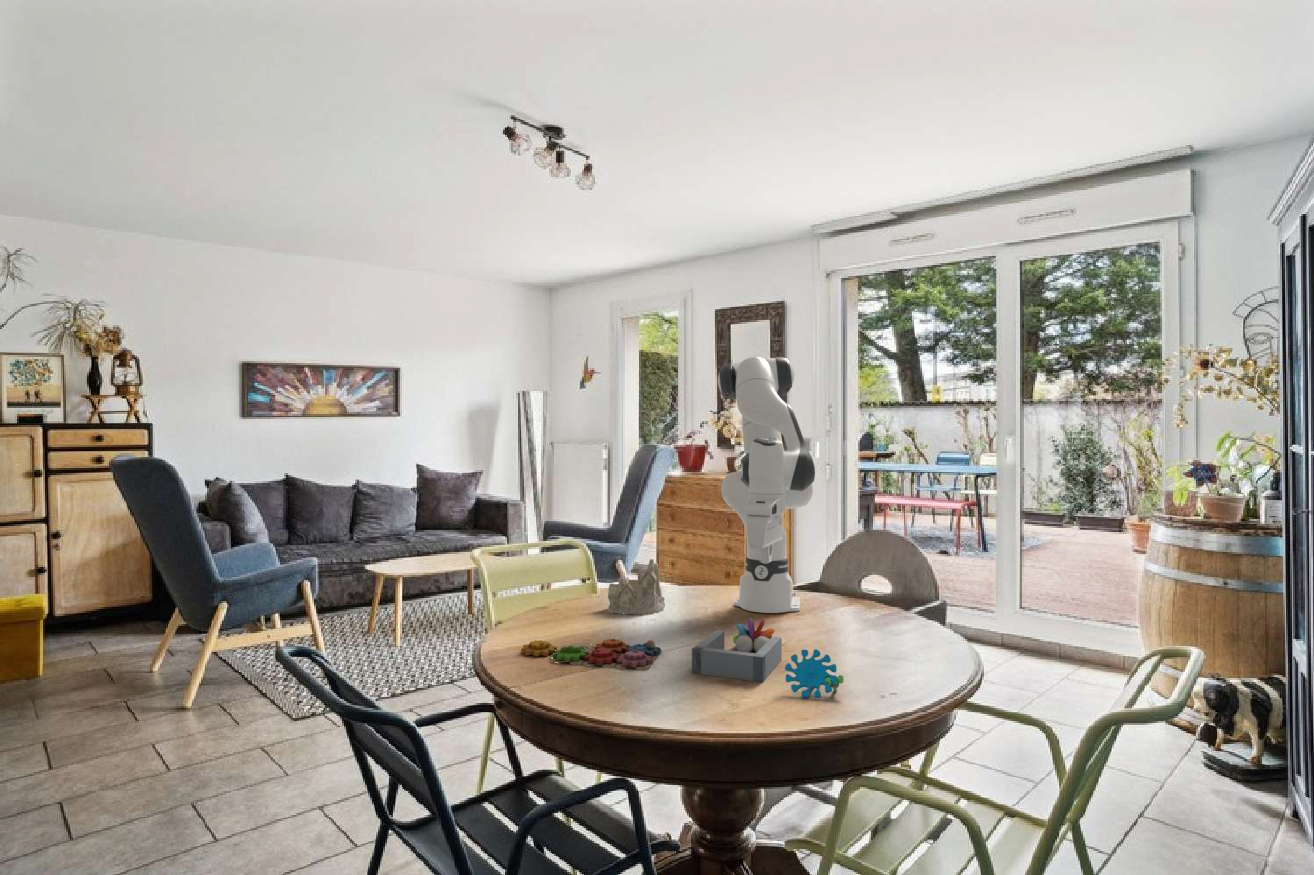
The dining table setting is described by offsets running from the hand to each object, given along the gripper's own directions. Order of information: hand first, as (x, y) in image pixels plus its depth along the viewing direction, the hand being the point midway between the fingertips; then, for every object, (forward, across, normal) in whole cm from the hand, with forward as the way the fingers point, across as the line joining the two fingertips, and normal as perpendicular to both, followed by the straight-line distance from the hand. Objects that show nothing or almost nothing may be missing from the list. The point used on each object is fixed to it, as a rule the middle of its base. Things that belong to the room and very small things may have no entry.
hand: (766, 562), depth 185 cm
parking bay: (+18, +23, 0) cm, 30 cm away
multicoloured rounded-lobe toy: (+19, +10, 0) cm, 21 cm away
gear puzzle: (+19, +29, -33) cm, 48 cm away
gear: (+19, +34, +18) cm, 43 cm away
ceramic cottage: (+18, -17, -42) cm, 49 cm away
